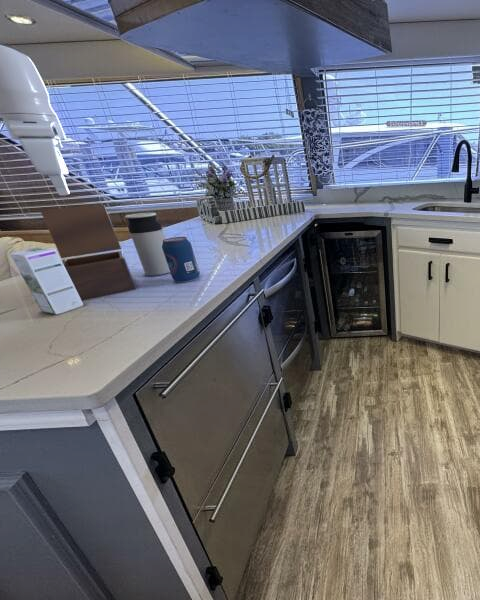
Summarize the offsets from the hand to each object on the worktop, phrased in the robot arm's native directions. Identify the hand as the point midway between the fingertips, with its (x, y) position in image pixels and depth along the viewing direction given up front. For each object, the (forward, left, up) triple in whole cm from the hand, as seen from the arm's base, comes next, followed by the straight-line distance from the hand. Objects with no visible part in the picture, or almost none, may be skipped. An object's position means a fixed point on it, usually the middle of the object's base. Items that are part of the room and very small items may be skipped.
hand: (64, 195), depth 78 cm
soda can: (+18, -6, -25) cm, 32 cm away
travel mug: (+13, +9, -25) cm, 30 cm away
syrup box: (-8, -9, -25) cm, 28 cm away
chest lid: (0, +7, -10) cm, 12 cm away
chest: (0, +1, -25) cm, 25 cm away
